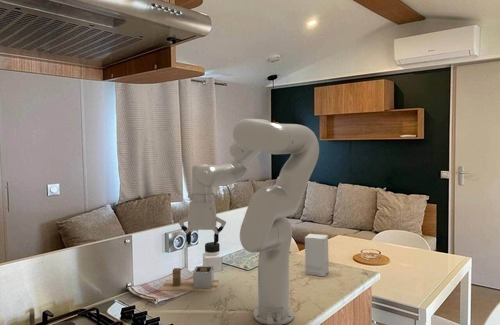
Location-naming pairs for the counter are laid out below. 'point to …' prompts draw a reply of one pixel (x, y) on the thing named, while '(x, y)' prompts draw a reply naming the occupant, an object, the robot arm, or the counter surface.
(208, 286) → the grey open box
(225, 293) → the counter surface
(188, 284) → the peg board
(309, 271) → the skincare box
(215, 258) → the medicine bottle
